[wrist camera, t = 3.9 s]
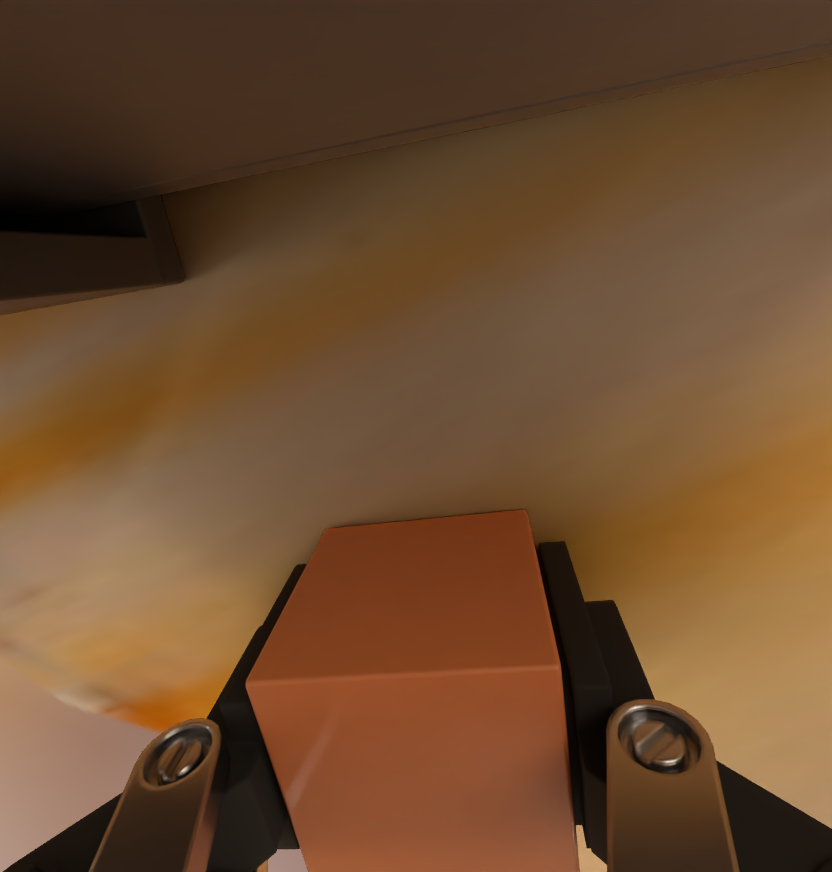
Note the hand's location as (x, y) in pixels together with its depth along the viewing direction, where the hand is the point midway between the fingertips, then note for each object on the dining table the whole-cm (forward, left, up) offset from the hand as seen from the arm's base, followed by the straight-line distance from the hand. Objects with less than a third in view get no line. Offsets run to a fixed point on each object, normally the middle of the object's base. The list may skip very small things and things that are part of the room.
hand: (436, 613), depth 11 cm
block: (0, 0, 0) cm, 0 cm away
